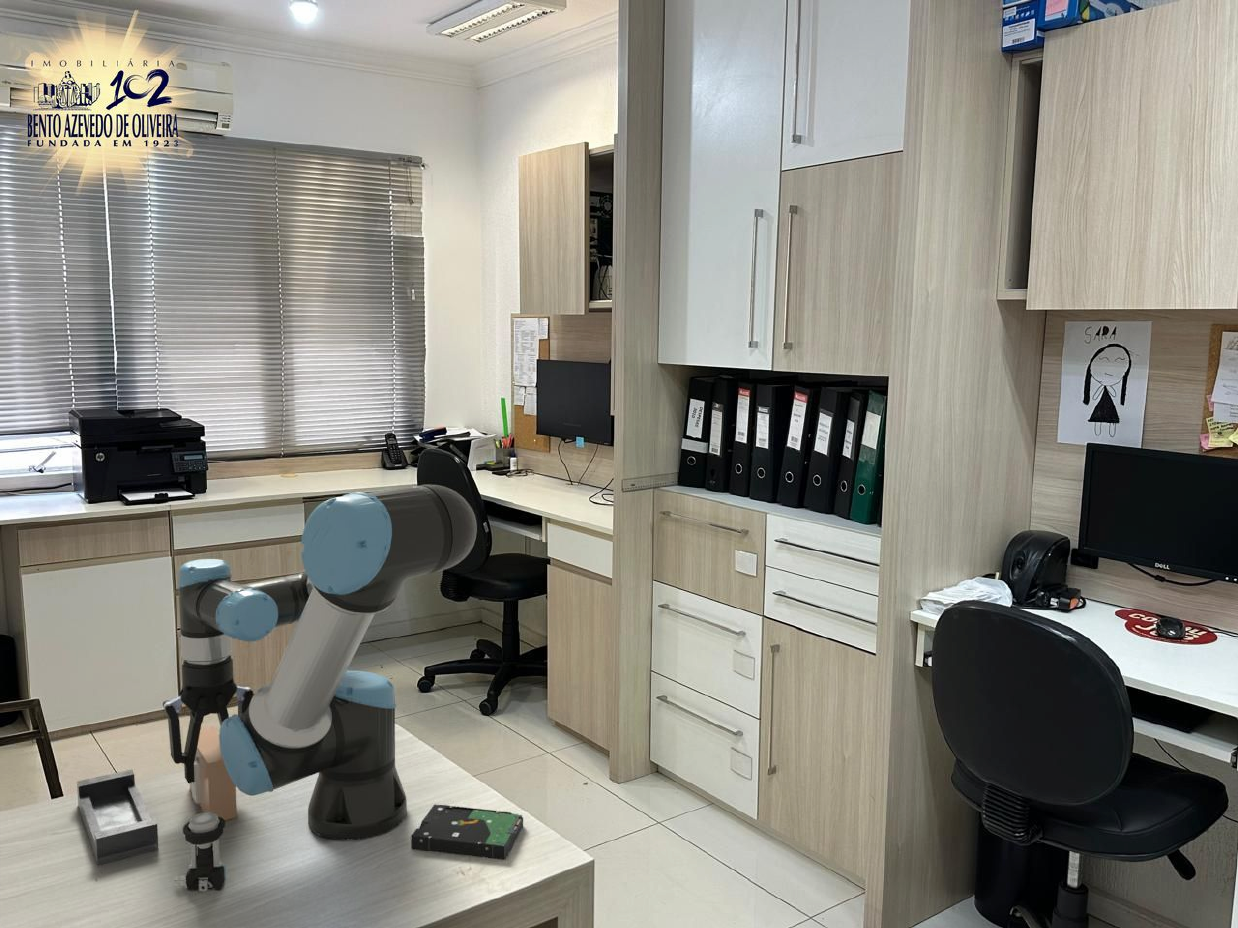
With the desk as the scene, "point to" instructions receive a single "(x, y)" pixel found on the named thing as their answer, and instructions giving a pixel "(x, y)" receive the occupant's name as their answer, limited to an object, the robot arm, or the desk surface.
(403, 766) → the desk surface
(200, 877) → the push button
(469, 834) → the disk drive
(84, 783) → the dark grey tray
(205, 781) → the orange rectangular block
